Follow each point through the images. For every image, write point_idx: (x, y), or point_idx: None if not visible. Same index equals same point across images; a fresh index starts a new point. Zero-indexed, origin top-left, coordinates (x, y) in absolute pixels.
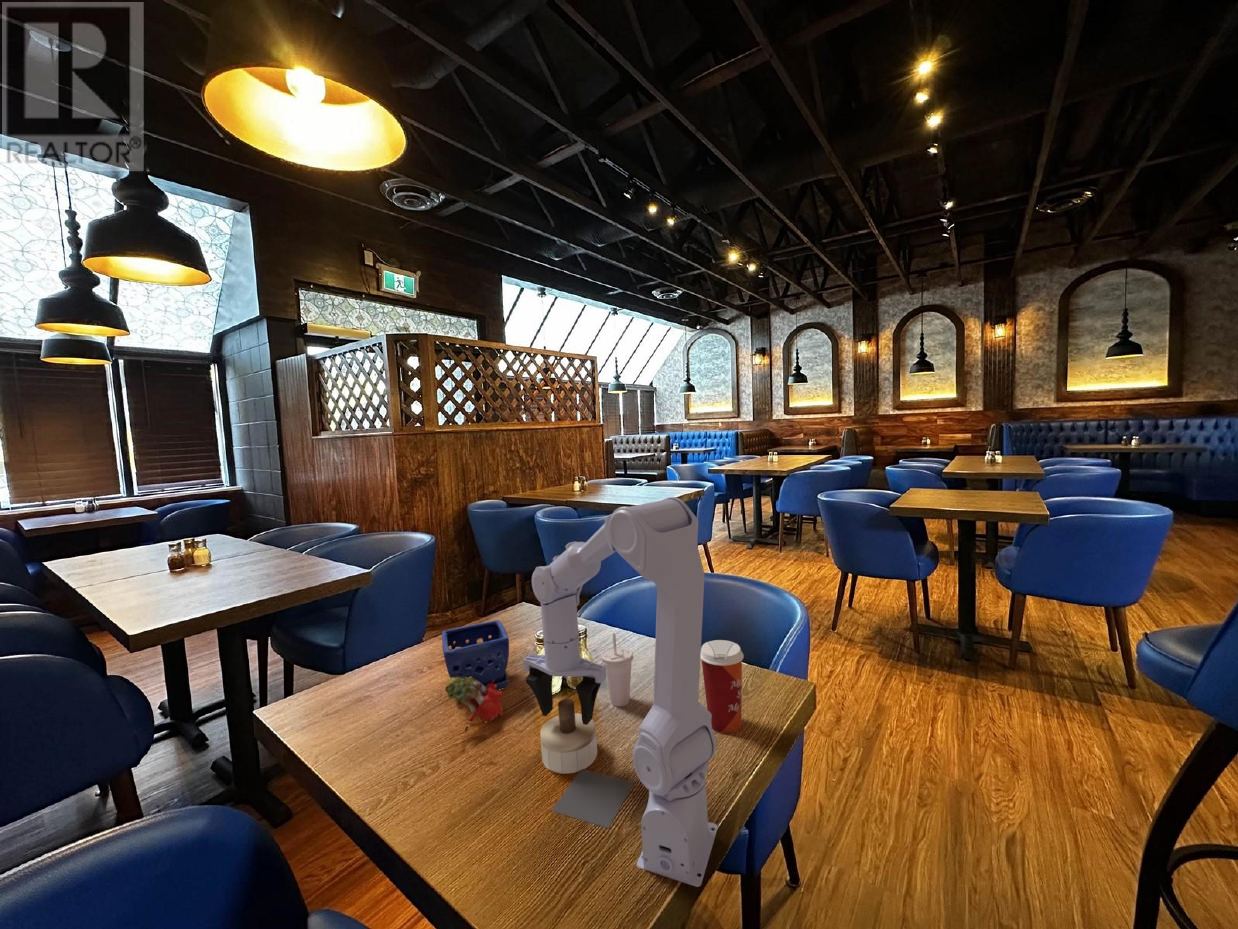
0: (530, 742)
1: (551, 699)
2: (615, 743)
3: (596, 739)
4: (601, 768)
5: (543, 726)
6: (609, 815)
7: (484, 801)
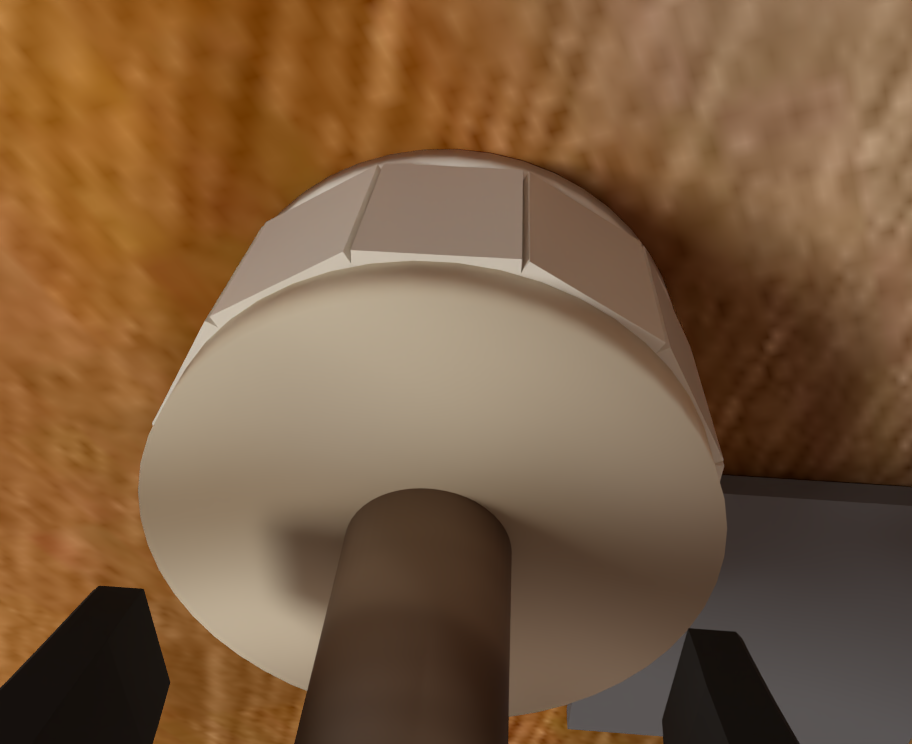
0: (12, 282)
1: (75, 704)
2: (801, 85)
3: (713, 428)
4: (743, 403)
5: (163, 562)
6: (895, 708)
7: (192, 701)
